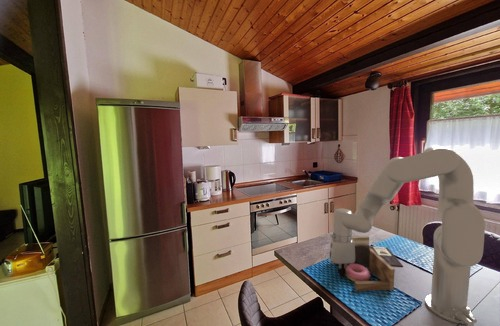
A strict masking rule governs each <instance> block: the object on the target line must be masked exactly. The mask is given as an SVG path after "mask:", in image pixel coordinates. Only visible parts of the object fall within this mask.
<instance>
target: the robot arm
mask: <svg viewBox="0 0 500 326" xmlns="http://www.w3.org/2000/svg"><path fill="white" fill-rule="evenodd" d="M433 177H434V178H435V177H437V178H438V200H437V201H438V202H437V212H438V215H439V217H440V219H441V225H439V226H438V227H437V228H436V229H435V230H434V233H433V264H432V277H431V291H430V294H429V295H426V297H425V298H424V299H425V301H424V302H425V303H424V304H425V305H426V306H427V308H428V309H429V310H430V311H431V312H433V313H434V314H435V315H436V316H438V317H440V318H442V319H444V320H446V321H448V322H453V323H456V324H459V323H462V324H461V325H466V326H474V325H475V324H476V323H477V322H478V320H477V319H476V318H475V317H474V316H473V314H472V312H471V308H470V307H468V300H469V299H468V297H469V289H470V288H469V287H470V276H471V267H473V266H476V265H477V264H479V263H480V262H481V260H482V257H483V255H484V247H485V246H484V245H485V232H486V231H485V230H486V229H485V228H486V222H485V218H484V214H483V213H482V211H481V210H480V209H479V208H478V207H477V206H476V205H475V203H474V196H475V195H474V175H473V172H472V169H471V167H470V165H469V164H468V163H467V161H466V160H465V159H464V158H462V156H461V155H460V154H458V153H457V152H456V151H455V150H453V149H451V148H448V147H444V146H442V145H441V146H440V145H434V146H429V147H427V148H426V149H424V150H423V151H422V152H421V153H416V154H413V155H409V156H405V157H401V156H398V157H397V156H396V157H393V158H391V159H389V160H388V161H387V162H386V163H385V165H384V167H383V168H382V170H381V171H380V173H379V175H378V176H377V178H376V179H375V180H374V181H373V183H372V185H371V186H370V188H369V190H368V191H367V193H366V195H365V196H364V198H363V200H362V201H361V203H360V204H359V205H358V207H357V208H356V210H355V212H354V213H353V212H352V210H351V209H348V208H343V207H342V208H336V209H335V210H334V212H333V232H332V234H330V235H329V236H330V238H331V241H330V245H329V246H330V247H329V263H330V265H335V266H336V267H337V270H336V272H337V274H338V275H339V276H340V278H345V277H346V275H345V271H346V268H347V266H348V265H349V264H352V263H354V262H355V246H354V241H353V240H352V236H353V231H356V232H357V233H361V234H362V233H364V234H366V233H369V232H370V231H371V230H372V228H373V224H374V223H373V222H374V219H375V218H376V216H377V215H378V214H379V212H380V210H381V209H382V208H383V207H384V206H385V205H386V204H388V203H390V202H392V201H393V200H394V198H395V197H396V195H397V194H398V193H399V192H400V190H401V188H402V187H403V185H404V184H405V183H410V182H416V181H421V180H425V179H429V178H433Z"/></svg>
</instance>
